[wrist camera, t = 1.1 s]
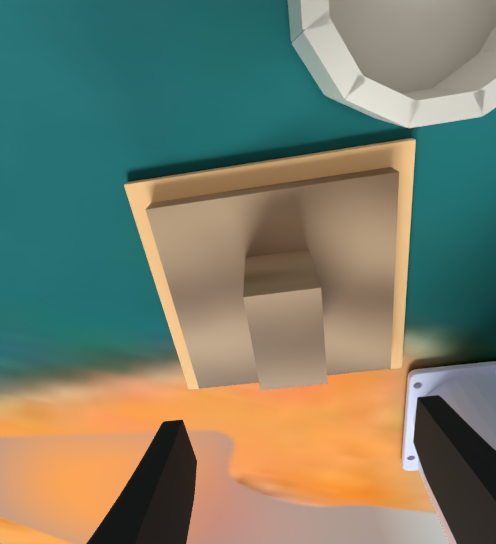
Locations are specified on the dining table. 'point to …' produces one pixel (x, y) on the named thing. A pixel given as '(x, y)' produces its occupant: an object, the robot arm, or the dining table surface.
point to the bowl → (401, 56)
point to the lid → (283, 278)
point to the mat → (278, 172)
